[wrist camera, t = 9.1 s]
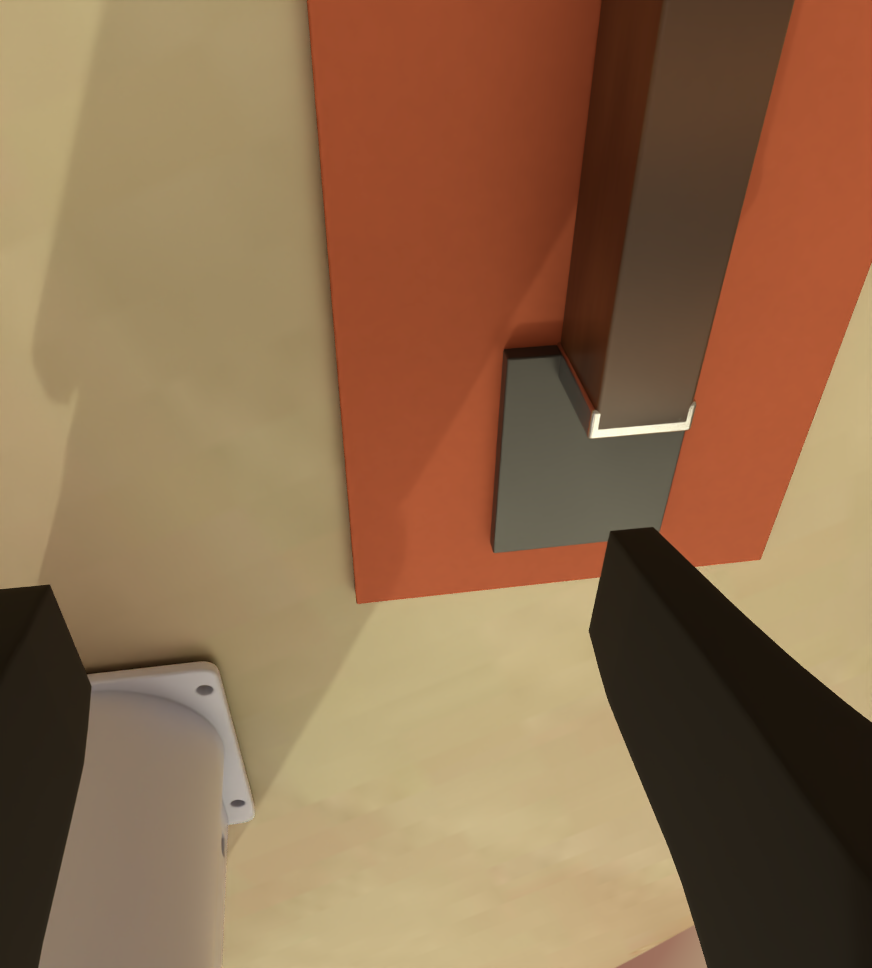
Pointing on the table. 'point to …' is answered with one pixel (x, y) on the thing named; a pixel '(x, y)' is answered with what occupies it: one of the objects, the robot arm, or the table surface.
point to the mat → (557, 272)
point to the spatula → (637, 270)
